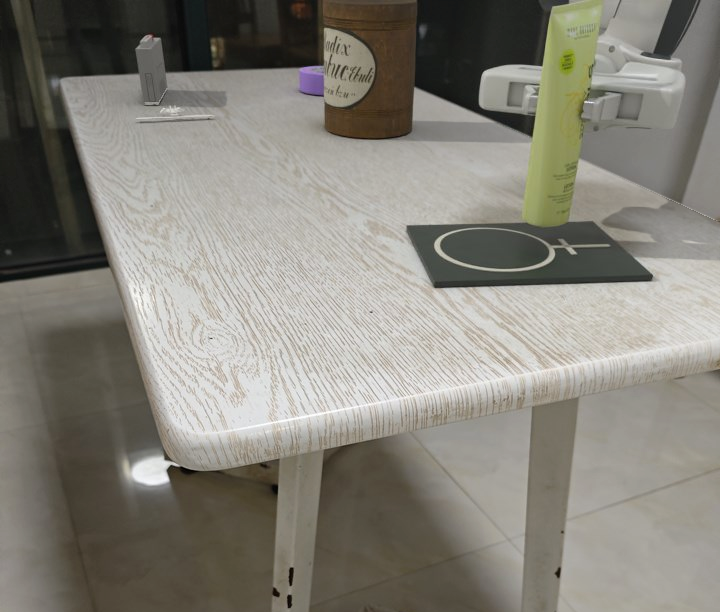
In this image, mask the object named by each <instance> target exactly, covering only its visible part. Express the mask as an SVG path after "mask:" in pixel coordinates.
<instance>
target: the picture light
mask: <svg viewBox="0 0 720 612" xmlns="http://www.w3.org/2000/svg"><path fill="white" fill-rule="evenodd" d="M176 106H177V105H173V107H174V108H173V107H172V106H171V105H169V108H167V107H166V108H165V107H163V108H162V109H161V110H160V114H161V115H162V114H170V116H151V117H150V116H149V117H136V118H135V119H150V118H151V119H152V118H154V119H155V118H186V117H214V118H216V115H215V114H193V115H192V114H191V115H181V116H179V115H178V114H179V113H184V114H185V110H184V109H183V108H181V107H176Z"/></svg>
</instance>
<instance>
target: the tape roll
mask: <svg viewBox="0 0 720 612" xmlns="http://www.w3.org/2000/svg"><path fill="white" fill-rule="evenodd" d="M298 72H299V91H300V92H301V93H304V94H307V95H314V96H324V65H312V66H305V67H301V68H299V71H298Z"/></svg>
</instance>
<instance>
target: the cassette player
mask: <svg viewBox="0 0 720 612" xmlns="http://www.w3.org/2000/svg"><path fill="white" fill-rule="evenodd" d="M134 50H135V55H136V61H137V62H136V63H137V68H138V69H137V70H138V74H139V75H138V76H139V80H140V81H139V82H140V88H141V93H142V94H141V95H142V101H143V103H144V102H159V100H160V99H161V97H162V95H163V93H164V92H165V90H166V88H168V81H167V74H166V67H165V65H166V64H165V59H164V51H163V44H162V38H161V37H154V35H153V34H146V35H145V36H144V37H143V38H142V39H141V40H140V41H139V45H137V47H135V49H134Z"/></svg>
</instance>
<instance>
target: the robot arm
mask: <svg viewBox="0 0 720 612" xmlns="http://www.w3.org/2000/svg"><path fill="white" fill-rule="evenodd" d="M537 1H538V3H539V5H540V7H541V9H542V10H544V11H546V12H549V13H551V11H552V7H554V6H561V5H566V4H571V3H577V2H581V1H586V0H537ZM701 1H702V0H603V4H602V13H601V20H600V27H599V29H601V30H602V31H604V32H602V33H599V34H598V41H597V48H596V54H595V61H594V67H593V74H592V81H591V87H590V93H589V98H587V100H585V101H584V104H583V111H584V112H583V113H582V114H581V121H585V125H584V131H583V134H590V133H596V132H599V131H611V130H616V129H644V130H645V129H646V130H650V129H651V130H652V129H653V130H660V131H669V130H673V129H674V127H675V126H676V122H677V120H678V116H679V112H680V108H681V105H682V100H683V97H684V92H685V87H686V82H687V81H686V76H685V74H684V73H683V72H682V66H683V61H682V60H681V59H680V58H677V57H672V56H673V54H674V53H675V52H676V50H677V49H678V47H679V46H680V44H681V43H682V41H683V39H684V37H685V36H686V34H687V32H688V30H689V28H690V27H691V24H692V22H693V20H694V18H695V16H696V14H697V11H698V8H699V6H700V4H701ZM542 67H543V65H532V64H531V65H530V64H505V65H499V66H496V67H492V68H489V69H486V70H484V71H483V72H482V74H481V78H480V84H479V91H478V106H479V107H480V108H481V109H483V110H485V111H493V112H501V113H511V114H518V115H519V114H520V115H525V116H535V117H536V109H537V102H538V95H539V88H540V81H541V74H542Z"/></svg>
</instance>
